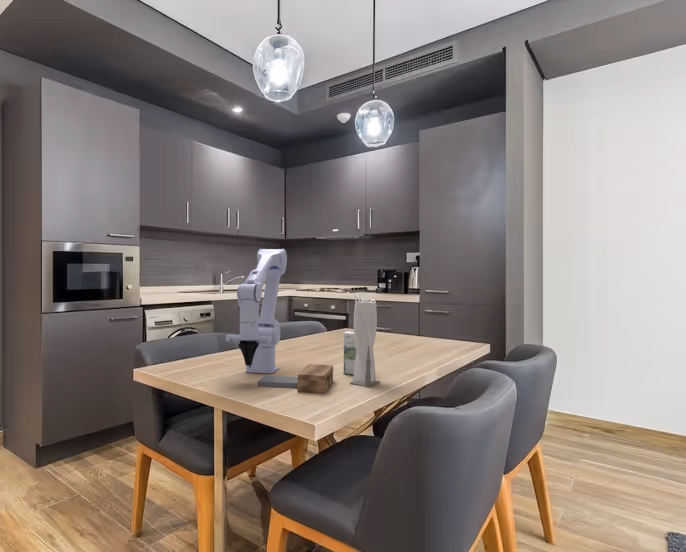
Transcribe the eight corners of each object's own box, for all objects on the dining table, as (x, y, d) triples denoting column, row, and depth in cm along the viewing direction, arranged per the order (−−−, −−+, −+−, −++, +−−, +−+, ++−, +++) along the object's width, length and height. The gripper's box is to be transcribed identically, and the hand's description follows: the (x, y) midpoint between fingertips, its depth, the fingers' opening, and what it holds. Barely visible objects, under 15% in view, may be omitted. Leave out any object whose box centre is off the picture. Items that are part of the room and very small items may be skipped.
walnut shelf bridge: (297, 391, 118) (297, 374, 118) (308, 379, 131) (308, 364, 131) (324, 393, 117) (324, 375, 117) (333, 380, 130) (333, 365, 130)
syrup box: (363, 371, 143) (363, 330, 142) (359, 376, 137) (359, 333, 137) (347, 370, 144) (347, 329, 144) (343, 374, 138) (343, 332, 138)
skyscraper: (346, 383, 128) (347, 294, 128) (359, 377, 135) (360, 293, 134) (369, 387, 123) (370, 295, 123) (381, 381, 130) (383, 294, 130)
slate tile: (257, 388, 123) (257, 381, 123) (264, 381, 130) (264, 375, 130) (299, 389, 122) (299, 383, 122) (304, 383, 129) (304, 377, 129)
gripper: (221, 322, 125) (221, 366, 125) (266, 323, 122) (266, 368, 122) (231, 320, 132) (231, 361, 132) (274, 321, 129) (274, 363, 129)
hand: (248, 365), depth 128 cm, fingers closed
